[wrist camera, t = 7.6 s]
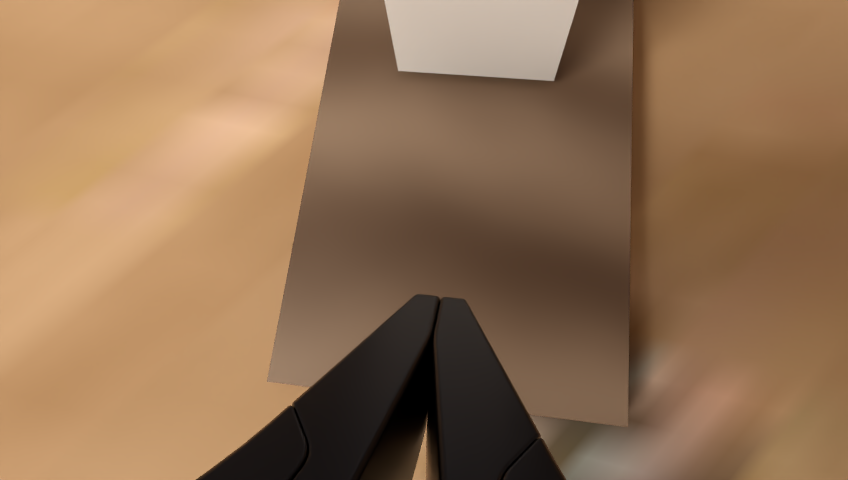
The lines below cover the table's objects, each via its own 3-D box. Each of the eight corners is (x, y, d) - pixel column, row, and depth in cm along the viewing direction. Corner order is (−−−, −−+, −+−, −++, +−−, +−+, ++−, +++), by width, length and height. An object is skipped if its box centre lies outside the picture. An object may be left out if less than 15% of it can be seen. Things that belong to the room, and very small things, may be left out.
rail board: (615, 423, 15) (627, 426, 14) (281, 381, 16) (266, 381, 15) (625, -126, 20) (635, -157, 19) (375, -132, 21) (370, -162, 20)
